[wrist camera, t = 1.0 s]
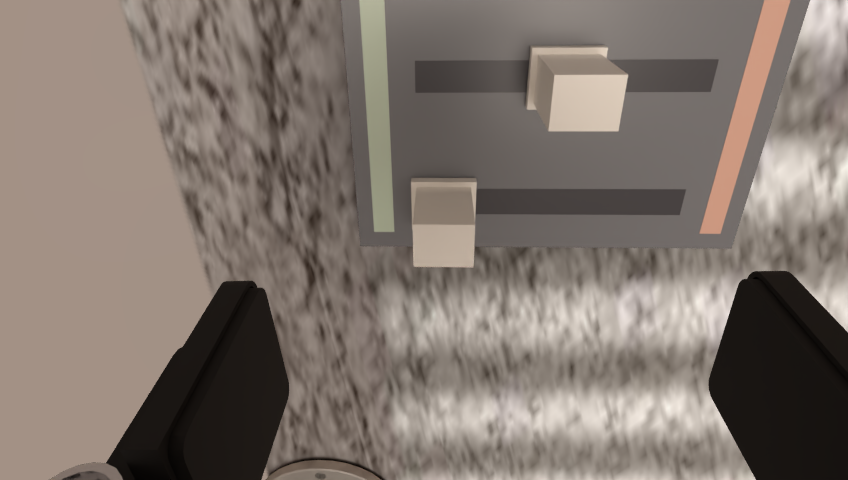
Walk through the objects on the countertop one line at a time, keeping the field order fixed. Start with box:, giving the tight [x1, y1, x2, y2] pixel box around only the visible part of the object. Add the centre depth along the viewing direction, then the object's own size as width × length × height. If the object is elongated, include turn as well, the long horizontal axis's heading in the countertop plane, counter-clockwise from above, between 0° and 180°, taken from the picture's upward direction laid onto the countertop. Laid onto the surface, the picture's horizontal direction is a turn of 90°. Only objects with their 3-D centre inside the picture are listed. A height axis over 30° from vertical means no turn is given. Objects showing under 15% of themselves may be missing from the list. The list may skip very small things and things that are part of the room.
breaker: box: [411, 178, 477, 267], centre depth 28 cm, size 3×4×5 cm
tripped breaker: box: [525, 45, 628, 131], centre depth 25 cm, size 3×4×5 cm
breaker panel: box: [341, 0, 810, 248], centre depth 28 cm, size 20×22×2 cm
